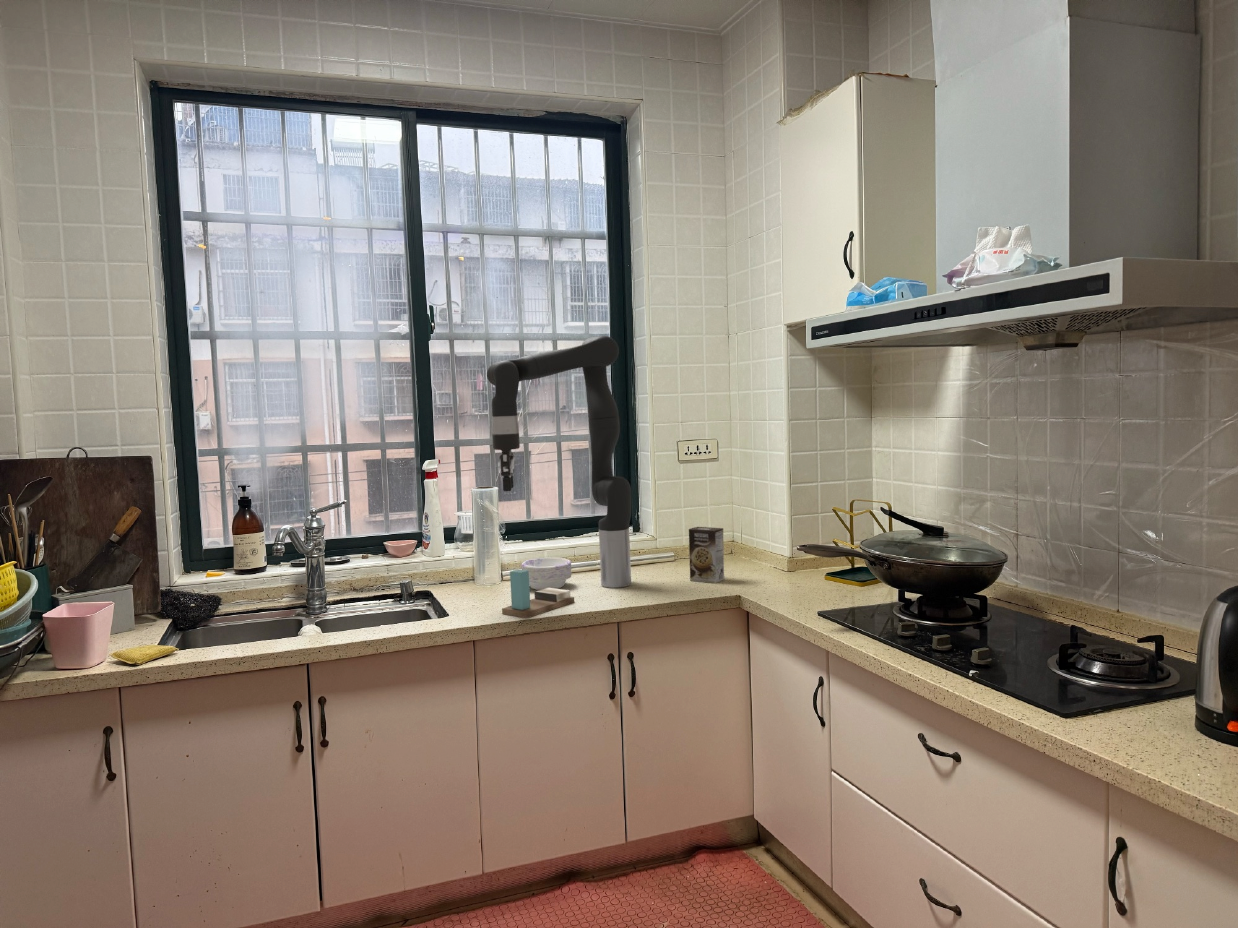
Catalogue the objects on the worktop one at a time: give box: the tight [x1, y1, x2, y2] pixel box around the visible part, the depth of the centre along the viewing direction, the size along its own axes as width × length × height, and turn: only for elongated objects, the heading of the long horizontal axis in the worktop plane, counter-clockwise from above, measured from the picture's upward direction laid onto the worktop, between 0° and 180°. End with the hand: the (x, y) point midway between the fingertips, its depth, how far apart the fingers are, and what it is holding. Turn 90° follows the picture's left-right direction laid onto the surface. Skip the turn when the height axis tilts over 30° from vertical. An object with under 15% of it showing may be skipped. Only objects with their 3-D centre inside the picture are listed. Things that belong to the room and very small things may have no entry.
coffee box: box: [688, 526, 725, 584], centre depth 261 cm, size 9×6×16 cm
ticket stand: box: [501, 588, 575, 619], centre depth 235 cm, size 20×9×4 cm, turn 143°
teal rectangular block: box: [509, 568, 531, 610], centre depth 229 cm, size 3×4×10 cm
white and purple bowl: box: [521, 557, 573, 591], centre depth 261 cm, size 15×15×8 cm
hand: (508, 489), depth 242 cm, fingers open, 8 cm apart
